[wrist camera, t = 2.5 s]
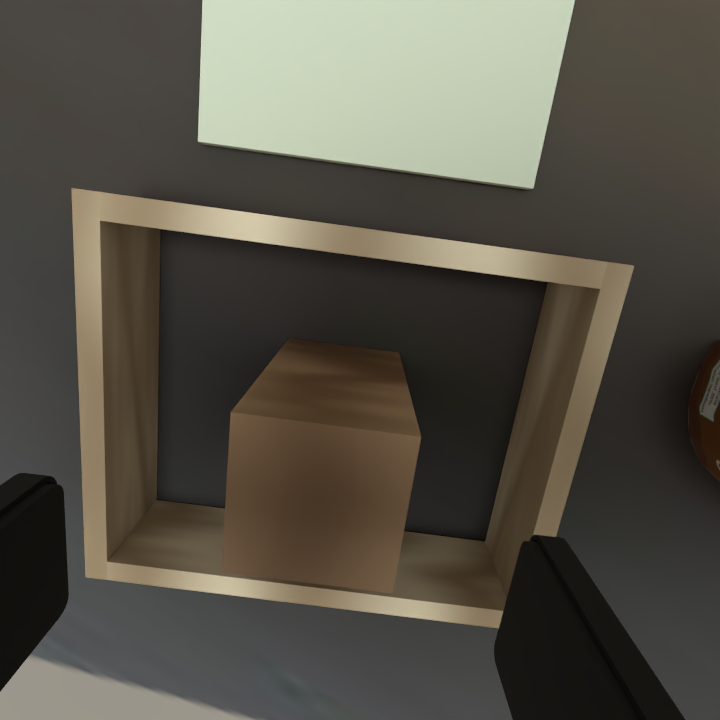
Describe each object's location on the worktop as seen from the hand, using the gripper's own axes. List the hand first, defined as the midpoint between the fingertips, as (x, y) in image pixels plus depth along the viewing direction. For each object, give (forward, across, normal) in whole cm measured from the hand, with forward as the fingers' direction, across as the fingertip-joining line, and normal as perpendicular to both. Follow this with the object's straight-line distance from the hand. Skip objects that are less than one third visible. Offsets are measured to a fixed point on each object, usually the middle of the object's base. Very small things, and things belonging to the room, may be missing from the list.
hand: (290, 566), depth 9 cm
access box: (+10, 0, 0) cm, 10 cm away
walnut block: (+10, 0, 0) cm, 10 cm away
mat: (+10, 0, -15) cm, 18 cm away
